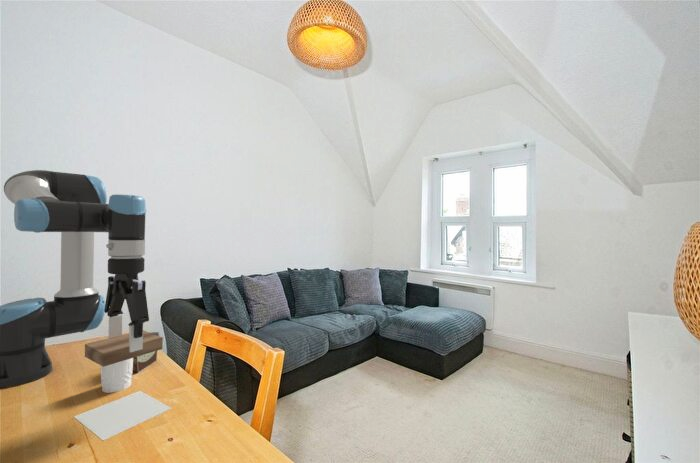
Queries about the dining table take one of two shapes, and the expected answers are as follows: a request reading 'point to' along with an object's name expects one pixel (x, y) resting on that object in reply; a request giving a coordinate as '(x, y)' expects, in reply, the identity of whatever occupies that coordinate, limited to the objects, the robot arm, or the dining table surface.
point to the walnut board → (120, 348)
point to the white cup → (116, 376)
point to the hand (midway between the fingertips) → (125, 345)
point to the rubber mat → (121, 414)
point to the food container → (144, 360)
